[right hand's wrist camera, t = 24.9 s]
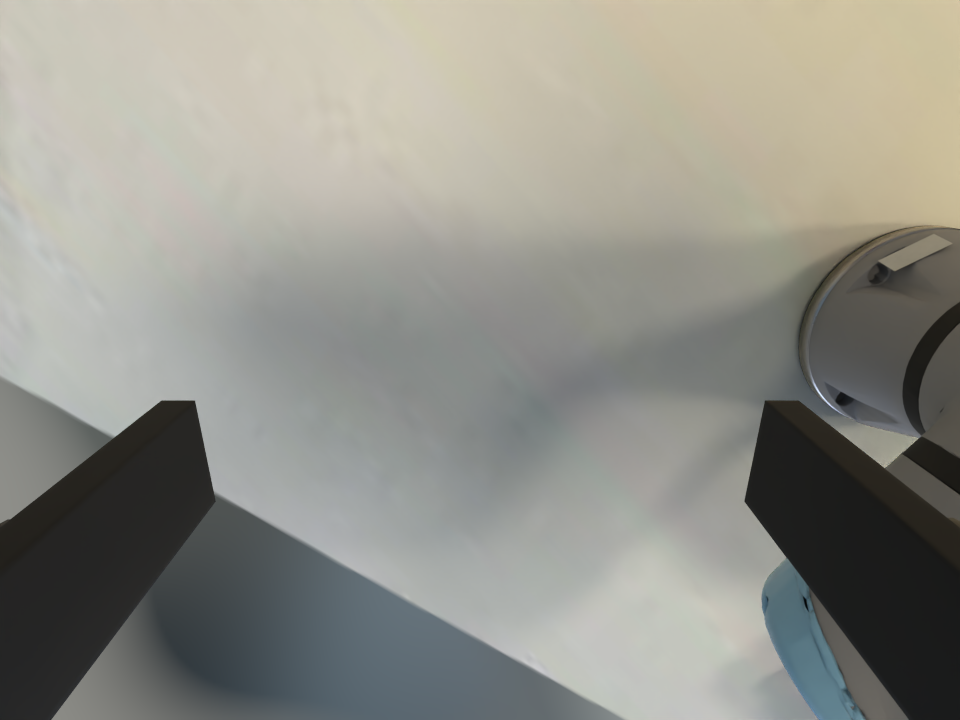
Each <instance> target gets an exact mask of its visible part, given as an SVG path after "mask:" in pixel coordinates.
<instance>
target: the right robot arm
mask: <svg viewBox="0 0 960 720" xmlns="http://www.w3.org/2000/svg"><path fill="white" fill-rule="evenodd" d="M799 357H800V363H801V367H802V371H803V373H804V376H805V378H806V380H807V382H808V384H809V386H810V387H811V388H812V390H813V391H814V392H815V394H816V395H817V396H818V397H819V398H820V399H821V400H823V401H824V402H825V403H826V404H828V405H829V406H830V407H832V408H833V409H835V410H836V411H838V412H839V413H841V414H842V415H844V416H846V417H848V418H850V419H852V420H855V421H857V422H859V423H862V424H865V425H868V426H871V427H875V428H880V429H884V430H888V431H892V432H896V433H900V434H905V435H909V436H913V437H917V438H919V439H918V440H917V441H916V442H914V443H913V444H912V445H911V446H910V447H909V448H908V449H907V450H906V451H904V452H903V453H902V454H901V455H899V456H898V457H897V458H896V459H895V460H894V461H893V462H892V463H890V464H889V465H888V466H887V467H886V468H883V467H882V466H881V465H880V464H878V463H877V462H876V461H875V460H873V459H872V458H871V457H869V456H868V455H867V454H866V453H864V452H863V451H862V450H861V449H859V448H858V447H857V446H855V445H854V444H853V443H852V442H850V441H849V440H848V439H847V438H845V437H844V436H843V435H841V434H840V433H839V432H838V431H836V430H835V429H834V428H833V427H831V426H830V425H829V424H827V423H826V422H825V421H824V420H822V419H821V418H820V417H819V416H817V415H816V414H815V413H814V412H812V411H811V410H810V409H808V408H807V407H806V406H805V405H803V404H802V403H801V402H800V401H765V404H764V409H763V413H762V418H761V423H760V428H759V433H758V438H757V443H756V448H755V452H754V457H753V462H752V467H751V472H750V477H749V482H748V487H747V491H746V496H745V501H744V502H745V503H746V504H747V505H748V507H749V508H750V509H751V511H752V512H753V513H754V515H755V516H756V517H757V519H758V520H759V521H760V523H761V524H762V525H763V527H764V528H765V529H766V531H767V532H768V533H769V535H770V536H771V537H772V539H773V540H774V541H775V543H776V544H777V545H778V547H779V548H780V549H781V551H782V552H783V553H784V555H785V556H786V557H787V558H786V559H785V560H784V561H783V562H782V563H781V564H780V565H779V566H778V567H777V568H776V569H775V570H774V572H773V573H772V574H771V575H770V576H769V577H768V578H767V580H766V582H765V584H764V587H763V591H762V609H763V613H764V616H765V624H766V627H767V630H768V633H769V635H770V638H771V640H772V643H773V645H774V647H775V649H776V651H777V653H778V655H779V657H780V659H781V661H782V663H783V665H784V667H785V669H786V670H787V672H788V674H789V676H790V677H791V679H792V681H793V682H794V684H795V685H796V687H797V689H798V690H799V692H800V693H801V695H802V696H803V698H804V699H805V701H806V702H807V704H808V705H809V707H810V708H811V709H812V711H813V712H814V714H815V715H816V716H817V718H818V719H819V720H960V229H955V228H949V227H943V226H919V227H912V228H907V229H903V230H898V231H895V232H892V233H889V234H887V235H884V236H882V237H880V238H877V239H875V240H873V241H872V242H870V243H868V244H866V245H864V246H863V247H861V248H860V249H858V250H857V251H855V252H854V253H853V254H851V255H850V256H848V257H847V258H846V259H845V260H844V261H843V262H841V263H840V264H839V265H838V266H837V267H836V268H835V269H834V270H833V271H832V272H831V273H830V275H829V276H828V277H827V278H826V279H825V281H824V282H823V283H822V285H821V286H820V287H819V289H818V290H817V292H816V293H815V295H814V297H813V299H812V300H811V302H810V305H809V307H808V309H807V311H806V314H805V316H804V319H803V323H802V327H801V332H800V338H799ZM214 503H215V496H214V491H213V487H212V482H211V477H210V472H209V467H208V462H207V457H206V452H205V448H204V443H203V438H202V433H201V428H200V423H199V418H198V413H197V409H196V404H195V401H160V402H159V403H158V404H157V405H155V406H154V407H153V408H152V409H150V410H149V411H148V412H146V413H145V414H144V415H143V416H141V417H140V418H139V419H138V420H136V421H135V422H134V423H133V424H131V425H130V426H129V427H127V428H126V429H125V430H124V431H122V432H121V433H120V434H119V435H117V436H116V437H115V438H113V439H112V440H111V441H110V442H108V443H107V444H106V445H105V446H103V447H102V448H101V449H99V450H98V451H97V452H96V453H94V454H93V455H92V456H91V457H89V458H88V459H87V460H86V461H84V462H83V463H82V464H80V465H79V466H78V467H77V468H75V469H74V470H73V471H71V472H70V473H69V474H68V475H66V476H65V477H64V478H63V479H61V480H60V481H59V482H57V483H56V484H55V485H54V486H52V487H51V488H50V489H49V490H47V491H46V492H45V493H44V494H42V495H41V496H40V497H38V498H37V499H36V500H35V501H33V502H32V503H31V504H29V505H28V506H27V507H26V508H24V509H23V510H22V511H21V512H19V513H18V514H17V515H16V516H14V517H13V518H12V519H10V520H6V521H4V522H2V523H0V720H51V719H52V718H53V717H54V715H55V714H56V713H57V711H58V710H59V709H60V707H61V706H62V705H63V703H64V702H65V701H66V699H67V698H68V697H69V695H70V694H71V693H72V691H73V690H74V689H75V687H76V686H77V685H78V683H79V682H80V681H81V679H82V678H83V677H84V675H85V674H86V673H87V671H88V670H89V669H90V668H91V666H92V665H93V664H94V662H95V661H96V660H97V658H98V657H99V656H100V654H101V653H102V652H103V650H104V649H105V648H106V646H107V645H108V644H109V642H110V641H111V640H112V638H113V637H114V636H115V634H116V633H117V632H118V630H119V629H120V628H121V626H122V625H123V624H124V622H125V621H126V620H127V618H128V617H129V616H130V614H131V613H132V612H133V610H134V609H135V608H136V606H137V605H138V604H139V602H140V601H141V600H142V598H143V597H144V596H145V594H146V593H147V592H148V590H149V589H150V588H151V586H152V585H153V584H154V583H155V581H156V580H157V579H158V577H159V576H160V575H161V573H162V572H163V571H164V569H165V568H166V567H167V565H168V564H169V563H170V561H171V560H172V559H173V557H174V556H175V555H176V553H177V552H178V551H179V549H180V548H181V547H182V545H183V544H184V543H185V541H186V540H187V539H188V537H189V536H190V535H191V533H192V532H193V531H194V529H195V528H196V527H197V525H198V524H199V523H200V521H201V520H202V519H203V517H204V516H205V515H206V513H207V512H208V511H209V509H210V508H211V507H212V505H213V504H214Z"/></svg>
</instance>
